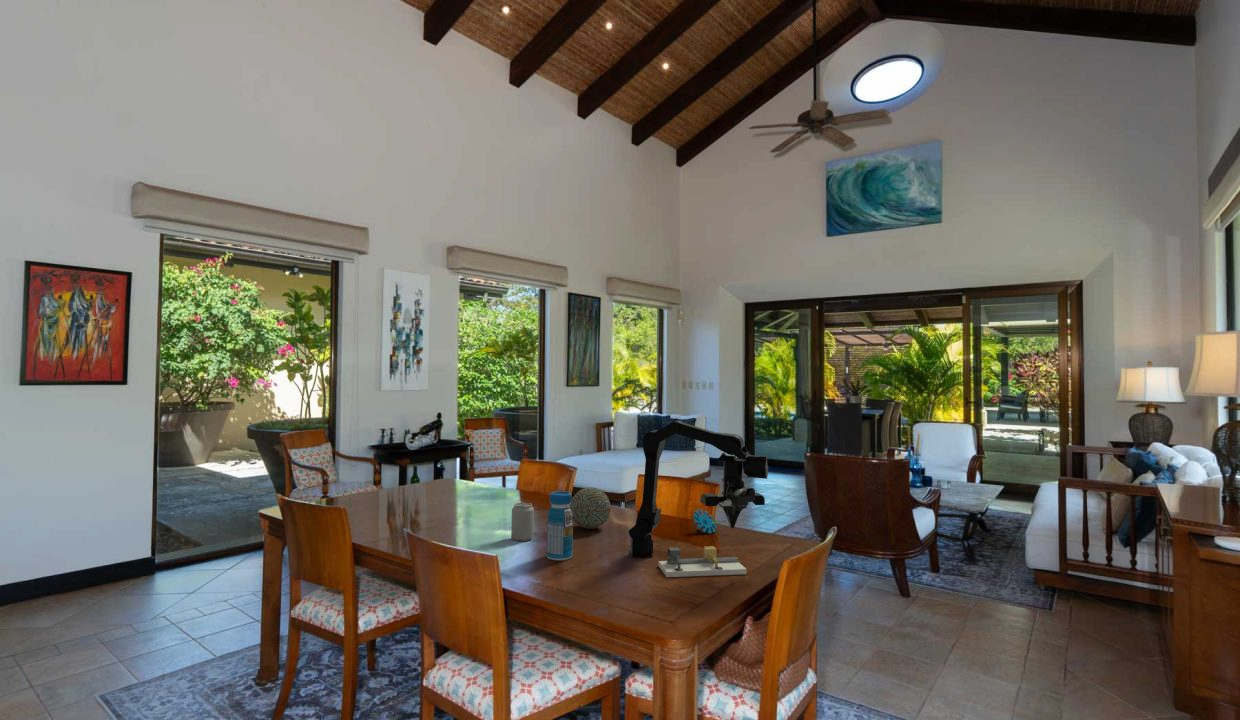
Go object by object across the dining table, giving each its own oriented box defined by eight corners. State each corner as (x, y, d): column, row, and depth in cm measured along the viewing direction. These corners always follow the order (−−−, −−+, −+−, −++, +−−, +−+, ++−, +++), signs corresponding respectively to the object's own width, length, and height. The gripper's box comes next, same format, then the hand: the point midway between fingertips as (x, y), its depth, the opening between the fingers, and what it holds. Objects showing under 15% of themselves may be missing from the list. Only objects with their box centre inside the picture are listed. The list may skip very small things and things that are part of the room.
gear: (700, 531, 226) (690, 507, 233) (691, 540, 230) (682, 516, 236) (724, 532, 232) (713, 508, 239) (715, 541, 235) (705, 517, 242)
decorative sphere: (580, 521, 244) (581, 482, 244) (616, 526, 238) (617, 486, 238) (562, 530, 230) (563, 489, 230) (600, 535, 224) (600, 493, 224)
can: (506, 540, 216) (507, 504, 216) (518, 535, 223) (519, 500, 223) (526, 543, 213) (526, 507, 213) (537, 537, 220) (538, 503, 220)
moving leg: (711, 567, 185) (712, 554, 185) (703, 559, 193) (703, 546, 193) (721, 566, 186) (722, 553, 186) (713, 558, 193) (713, 546, 193)
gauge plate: (666, 577, 182) (666, 571, 182) (658, 566, 191) (658, 560, 191) (746, 574, 186) (746, 568, 186) (734, 563, 196) (734, 558, 196)
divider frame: (672, 570, 183) (673, 555, 183) (666, 561, 191) (666, 547, 191) (745, 567, 187) (745, 553, 187) (735, 559, 195) (735, 545, 195)
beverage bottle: (546, 561, 193) (547, 496, 194) (545, 553, 202) (546, 490, 202) (573, 560, 195) (575, 495, 195) (571, 552, 203) (573, 490, 203)
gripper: (711, 481, 183) (711, 535, 183) (772, 480, 187) (771, 533, 187) (700, 474, 194) (699, 525, 194) (758, 474, 198) (757, 524, 197)
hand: (732, 527), depth 193 cm, fingers closed
